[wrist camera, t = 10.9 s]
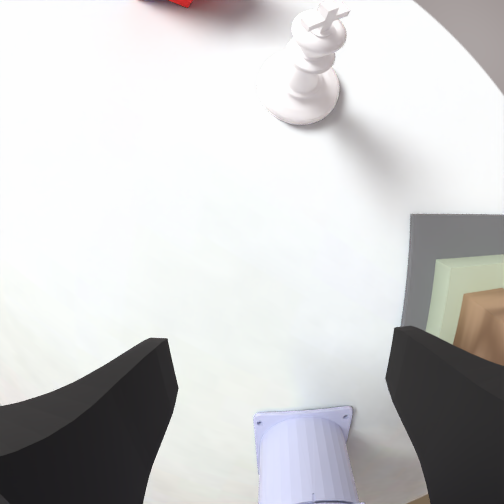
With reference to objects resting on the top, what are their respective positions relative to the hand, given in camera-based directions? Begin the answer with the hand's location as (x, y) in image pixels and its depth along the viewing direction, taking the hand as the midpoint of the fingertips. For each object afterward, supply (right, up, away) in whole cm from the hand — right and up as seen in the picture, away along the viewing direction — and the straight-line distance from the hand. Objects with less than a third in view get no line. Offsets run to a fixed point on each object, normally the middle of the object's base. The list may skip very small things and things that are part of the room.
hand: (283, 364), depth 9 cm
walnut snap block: (+15, -1, +8) cm, 17 cm away
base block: (+15, -1, +10) cm, 18 cm away
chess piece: (+2, +13, +7) cm, 15 cm away
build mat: (+15, -1, +10) cm, 18 cm away
